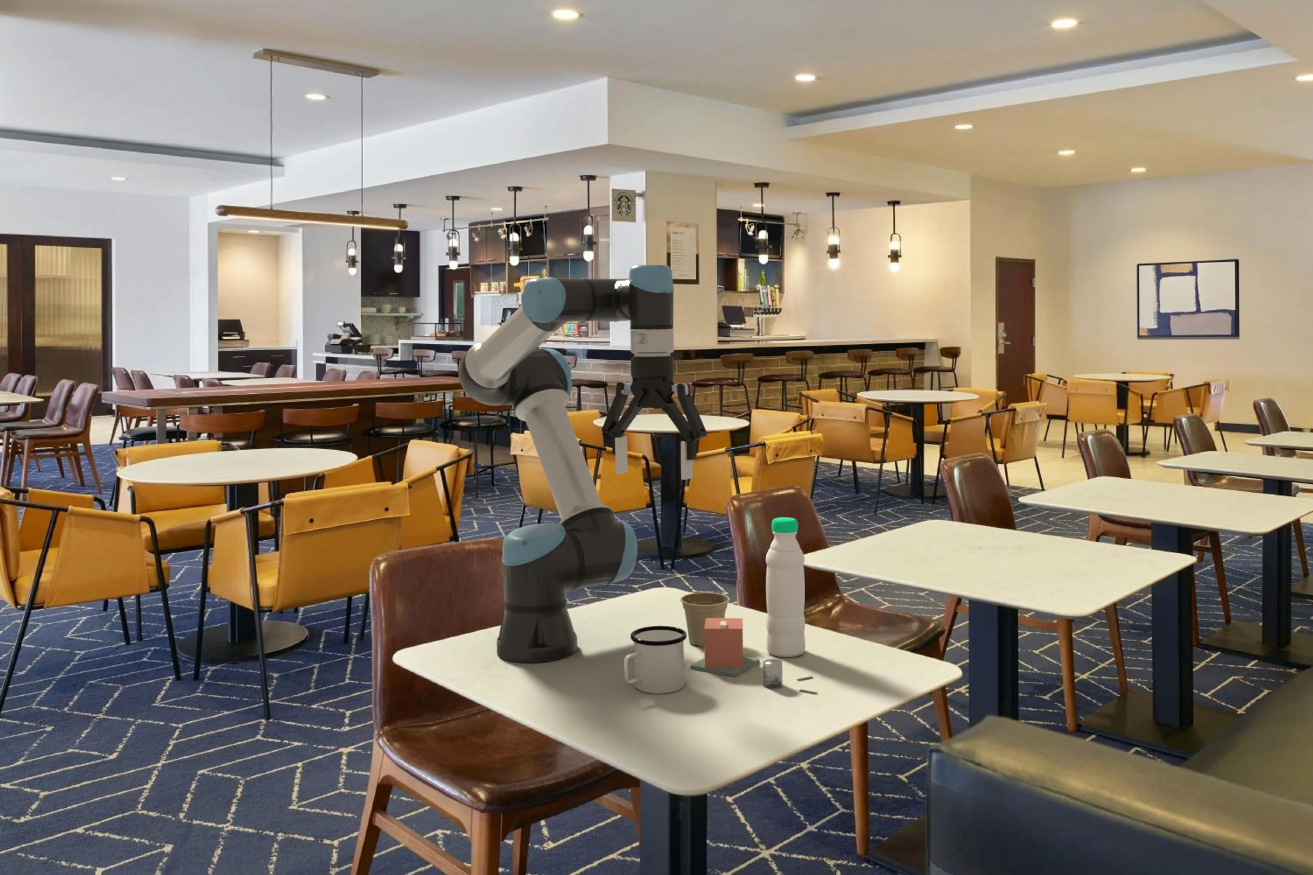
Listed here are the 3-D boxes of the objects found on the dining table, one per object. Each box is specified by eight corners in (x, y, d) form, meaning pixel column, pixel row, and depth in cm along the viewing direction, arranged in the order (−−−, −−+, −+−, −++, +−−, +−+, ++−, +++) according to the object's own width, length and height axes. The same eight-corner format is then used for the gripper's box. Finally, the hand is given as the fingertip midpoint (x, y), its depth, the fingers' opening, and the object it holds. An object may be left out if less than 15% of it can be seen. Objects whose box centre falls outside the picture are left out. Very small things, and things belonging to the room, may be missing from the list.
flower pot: (740, 643, 195) (739, 599, 194) (700, 653, 190) (699, 607, 189) (710, 632, 203) (709, 589, 202) (671, 641, 198) (670, 597, 197)
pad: (690, 668, 181) (690, 665, 181) (716, 654, 189) (716, 651, 189) (735, 676, 176) (735, 673, 176) (759, 662, 184) (759, 659, 184)
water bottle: (804, 659, 185) (803, 522, 183) (764, 657, 187) (763, 521, 184) (806, 647, 192) (805, 515, 190) (768, 645, 193) (767, 514, 191)
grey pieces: (759, 686, 172) (759, 663, 171) (783, 671, 179) (783, 649, 178) (812, 696, 166) (812, 672, 166) (834, 680, 173) (834, 657, 173)
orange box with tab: (706, 655, 186) (705, 614, 186) (743, 655, 186) (742, 614, 185) (704, 667, 180) (704, 625, 179) (742, 667, 179) (742, 625, 179)
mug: (663, 672, 180) (662, 622, 179) (699, 686, 172) (698, 633, 171) (608, 688, 172) (606, 636, 171) (643, 703, 165) (642, 648, 164)
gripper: (581, 355, 182) (583, 473, 184) (704, 356, 169) (705, 484, 171) (605, 353, 188) (607, 468, 191) (725, 354, 175) (726, 477, 177)
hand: (653, 476), depth 181 cm, fingers open, 13 cm apart
